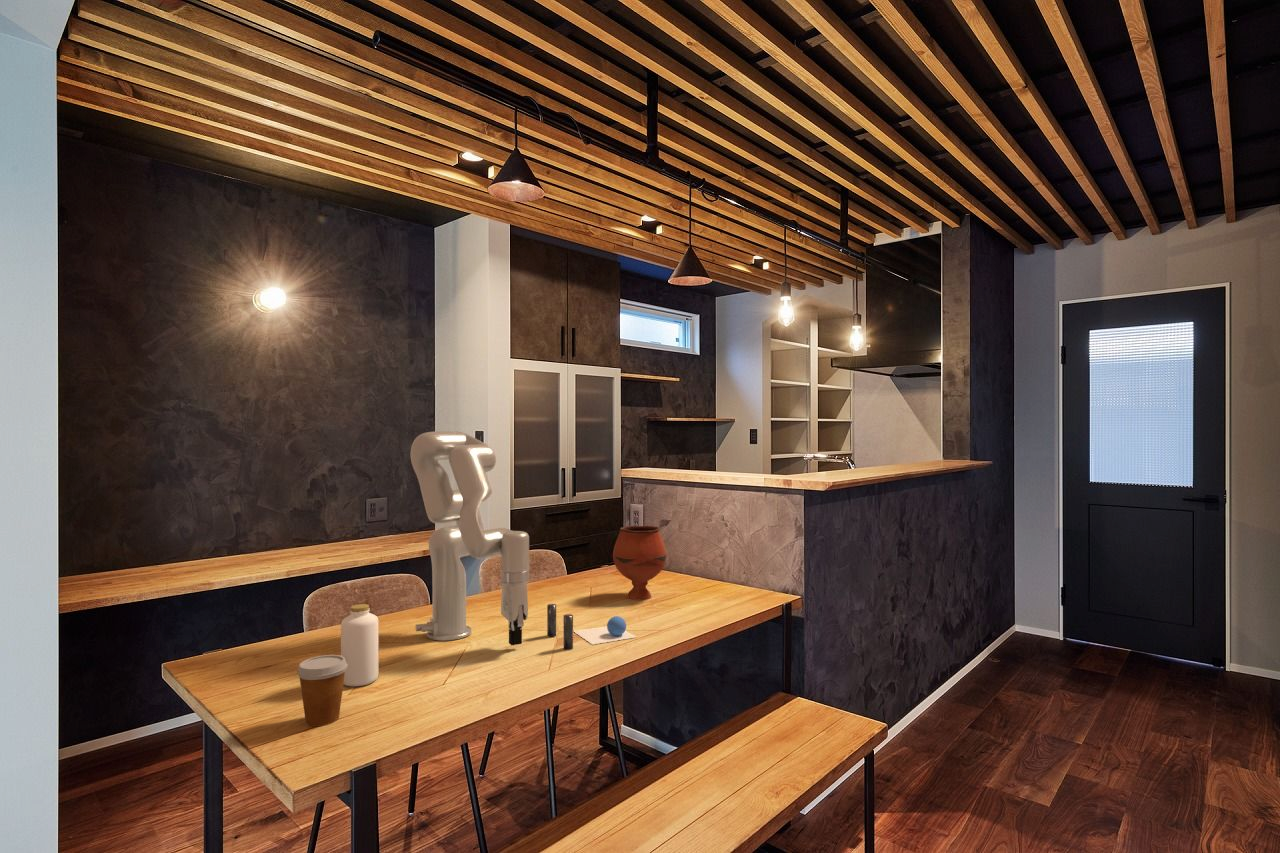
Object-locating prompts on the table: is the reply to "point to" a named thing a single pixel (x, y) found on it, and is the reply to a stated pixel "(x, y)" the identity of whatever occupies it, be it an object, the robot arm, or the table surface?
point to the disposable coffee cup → (322, 688)
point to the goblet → (639, 557)
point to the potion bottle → (360, 646)
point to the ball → (616, 626)
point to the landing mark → (601, 635)
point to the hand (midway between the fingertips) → (515, 643)
